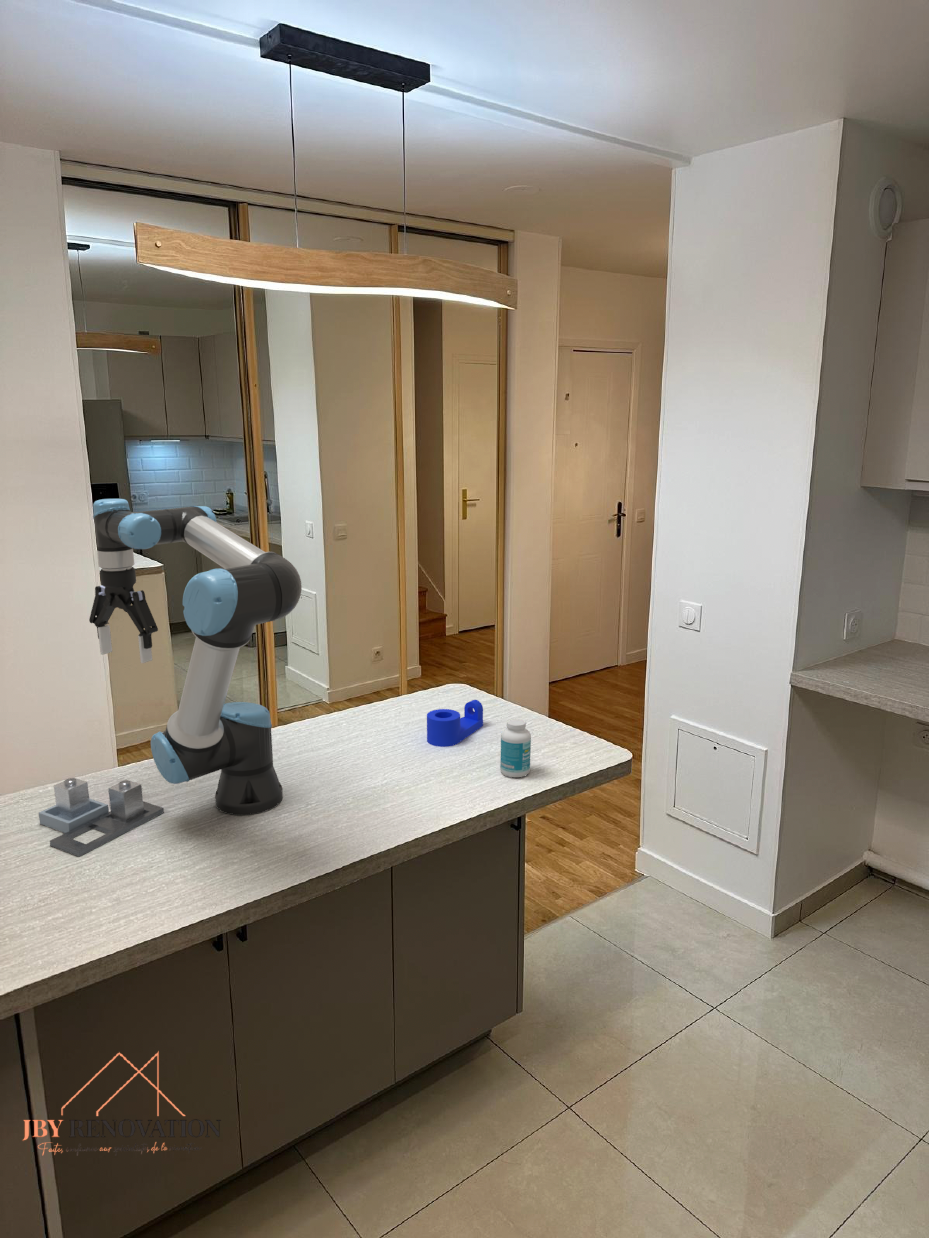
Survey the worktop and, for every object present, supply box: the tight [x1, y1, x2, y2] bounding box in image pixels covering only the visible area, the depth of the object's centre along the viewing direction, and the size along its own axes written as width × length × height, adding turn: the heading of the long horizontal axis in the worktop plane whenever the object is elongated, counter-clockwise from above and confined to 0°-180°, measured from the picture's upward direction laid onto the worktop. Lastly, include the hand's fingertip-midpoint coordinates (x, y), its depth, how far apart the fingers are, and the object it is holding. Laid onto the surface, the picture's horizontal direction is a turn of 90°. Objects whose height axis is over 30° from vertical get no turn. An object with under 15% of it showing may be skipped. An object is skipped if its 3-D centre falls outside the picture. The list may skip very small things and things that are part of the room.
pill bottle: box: [499, 718, 532, 778], centre depth 211 cm, size 8×7×14 cm
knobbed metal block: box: [53, 777, 91, 821], centre depth 187 cm, size 5×5×9 cm
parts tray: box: [38, 797, 110, 834], centre depth 188 cm, size 10×10×3 cm
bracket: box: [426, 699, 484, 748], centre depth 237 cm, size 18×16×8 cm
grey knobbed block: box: [107, 779, 144, 824], centre depth 188 cm, size 5×5×9 cm
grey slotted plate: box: [49, 800, 165, 858], centre depth 185 cm, size 22×9×1 cm, turn 151°
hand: (126, 657), depth 199 cm, fingers open, 13 cm apart
